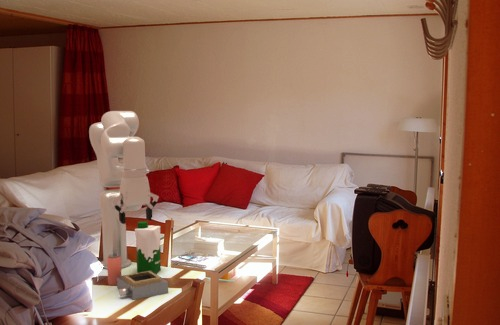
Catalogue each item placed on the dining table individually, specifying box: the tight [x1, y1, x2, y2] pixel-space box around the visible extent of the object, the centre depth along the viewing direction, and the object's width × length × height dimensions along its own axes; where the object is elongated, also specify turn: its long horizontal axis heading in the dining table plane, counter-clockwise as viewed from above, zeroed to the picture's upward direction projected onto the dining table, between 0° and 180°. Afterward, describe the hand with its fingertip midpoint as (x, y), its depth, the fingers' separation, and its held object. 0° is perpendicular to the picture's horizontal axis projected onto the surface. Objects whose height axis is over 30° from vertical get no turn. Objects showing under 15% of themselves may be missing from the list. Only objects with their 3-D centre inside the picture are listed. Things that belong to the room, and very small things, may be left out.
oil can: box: [106, 249, 123, 286], centre depth 204 cm, size 5×5×13 cm
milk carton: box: [134, 220, 162, 274], centre depth 217 cm, size 9×9×20 cm
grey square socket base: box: [116, 271, 169, 301], centre depth 195 cm, size 16×16×5 cm
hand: (136, 221), depth 194 cm, fingers open, 9 cm apart
